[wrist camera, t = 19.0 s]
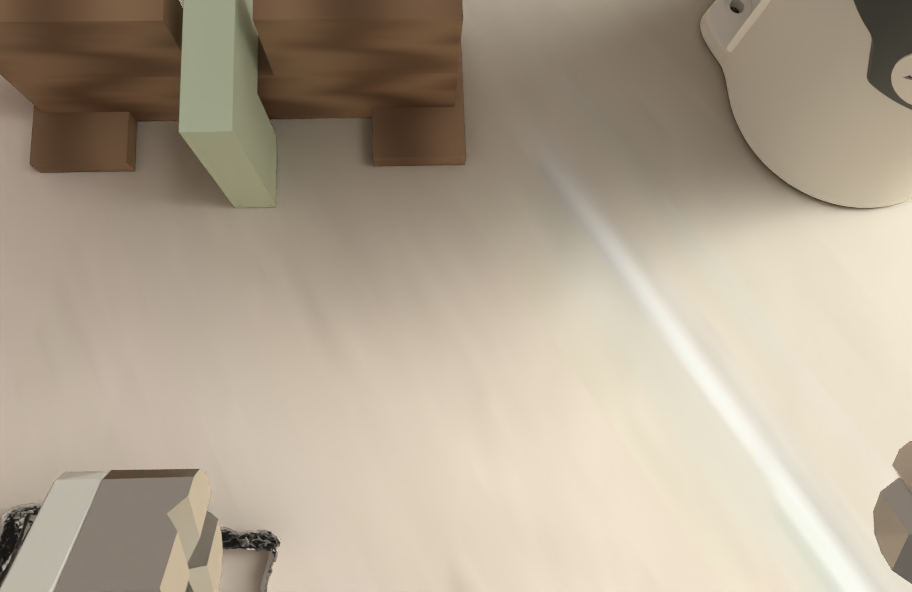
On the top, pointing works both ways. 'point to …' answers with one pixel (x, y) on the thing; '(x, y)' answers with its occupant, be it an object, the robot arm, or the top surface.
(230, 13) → the green slotted plate
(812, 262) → the top surface
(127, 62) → the walnut slotted board
